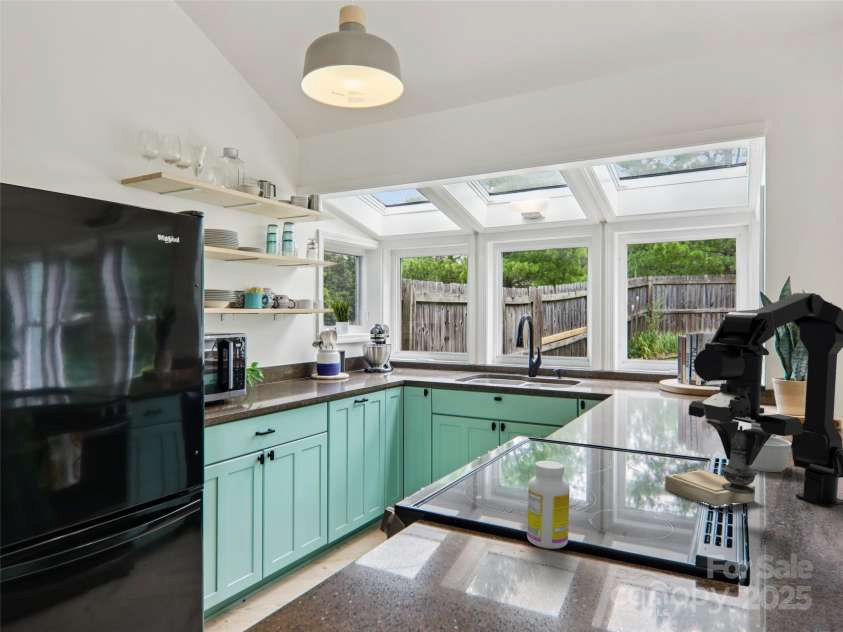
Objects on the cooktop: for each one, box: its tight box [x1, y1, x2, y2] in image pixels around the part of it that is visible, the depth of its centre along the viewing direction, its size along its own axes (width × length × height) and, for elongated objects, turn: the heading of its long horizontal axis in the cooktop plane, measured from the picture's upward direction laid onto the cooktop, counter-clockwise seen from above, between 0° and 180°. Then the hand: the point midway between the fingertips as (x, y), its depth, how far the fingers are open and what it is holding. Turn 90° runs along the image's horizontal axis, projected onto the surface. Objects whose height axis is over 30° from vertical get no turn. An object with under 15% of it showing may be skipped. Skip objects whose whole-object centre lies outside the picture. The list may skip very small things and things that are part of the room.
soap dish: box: [664, 469, 756, 506], centre depth 117 cm, size 12×12×3 cm
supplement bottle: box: [526, 460, 571, 550], centre depth 91 cm, size 7×7×13 cm
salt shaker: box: [720, 425, 758, 494], centre depth 103 cm, size 6×6×12 cm
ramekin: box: [749, 435, 792, 473], centre depth 140 cm, size 13×13×7 cm
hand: (739, 462), depth 103 cm, fingers closed on salt shaker, 3 cm apart
